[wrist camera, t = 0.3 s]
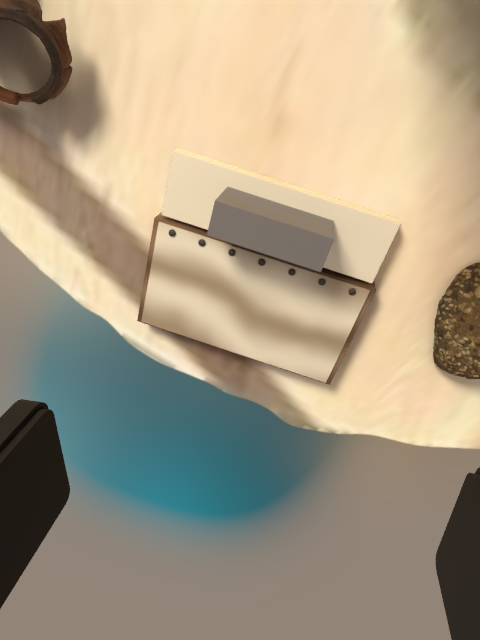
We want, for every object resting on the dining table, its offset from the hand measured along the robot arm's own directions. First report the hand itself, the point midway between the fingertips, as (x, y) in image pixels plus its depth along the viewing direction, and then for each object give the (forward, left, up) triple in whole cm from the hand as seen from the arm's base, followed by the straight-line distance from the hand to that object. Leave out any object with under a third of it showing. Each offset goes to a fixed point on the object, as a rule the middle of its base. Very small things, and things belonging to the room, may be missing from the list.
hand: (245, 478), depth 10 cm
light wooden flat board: (+14, -2, -34) cm, 37 cm away
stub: (+4, -2, -34) cm, 35 cm away
